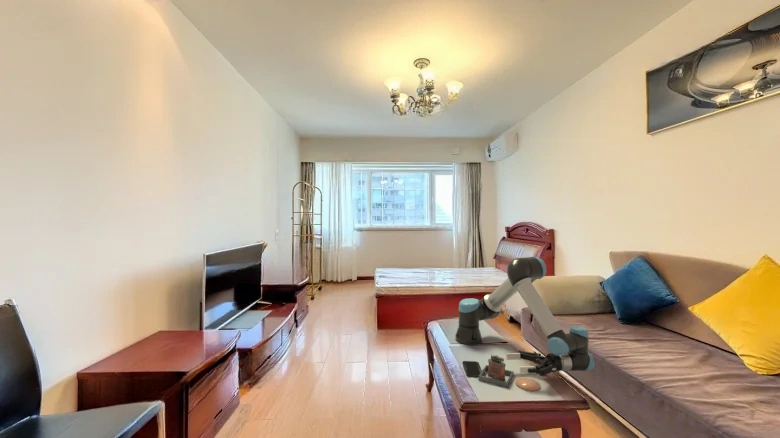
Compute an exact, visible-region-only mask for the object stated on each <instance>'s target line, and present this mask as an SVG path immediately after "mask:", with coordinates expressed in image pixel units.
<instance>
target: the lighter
mask: <svg viewBox="0 0 780 438" xmlns="http://www.w3.org/2000/svg"><path fill="white" fill-rule="evenodd" d="M487 362H488V364H487V365H488V370H487V372H488V373H487V377H489V378H493V379H497V380H500V381H504V382H506V375H505V370H506V366H507V365H506V363H505V359H504V357H501V356H499V355H494V354H491V355H490V358H487Z"/></svg>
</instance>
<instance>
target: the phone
mask: <svg viewBox="0 0 780 438" xmlns="http://www.w3.org/2000/svg"><path fill="white" fill-rule="evenodd" d="M480 365H481V364H480V363H479V362H478V361H475V360H474V361H473V360H472V361H471V360H462V367H463V370H464V372H465V376H466V377H467V378H478V379H479V374H480V373H481V372H482V370H483V369H482V367H481V366H480ZM483 376H485V374H484V375H483Z"/></svg>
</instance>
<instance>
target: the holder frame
mask: <svg viewBox="0 0 780 438" xmlns="http://www.w3.org/2000/svg"><path fill="white" fill-rule="evenodd" d="M488 365H489V364H486V365H484V368H483V369H481V370H482V372H481V373H480V374H479V378H478V381H479V382H484V383H487V384H490V385H491V384H492V385H495V386H500V387H503V388H506V389H509V387H510V385H511V384H512V381H513V379H514V376H515V371H513V370H508V369H505V376H508V377H507V378H508V379H507V380H506V381H505V382H504V381H500V380H497V379H493V378H490V377H489V376H485V374H487V372H488ZM483 375H484V376H483Z"/></svg>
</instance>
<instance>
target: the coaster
mask: <svg viewBox="0 0 780 438" xmlns="http://www.w3.org/2000/svg"><path fill="white" fill-rule="evenodd" d="M514 381H515V386H516V387H518V388H519V389H521V390H524V391H527V392H537V391H539V390H541V384H540V383H539V381H538V380H535V379H532V378H529V377H518V378H516V379H515V380H514Z"/></svg>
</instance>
